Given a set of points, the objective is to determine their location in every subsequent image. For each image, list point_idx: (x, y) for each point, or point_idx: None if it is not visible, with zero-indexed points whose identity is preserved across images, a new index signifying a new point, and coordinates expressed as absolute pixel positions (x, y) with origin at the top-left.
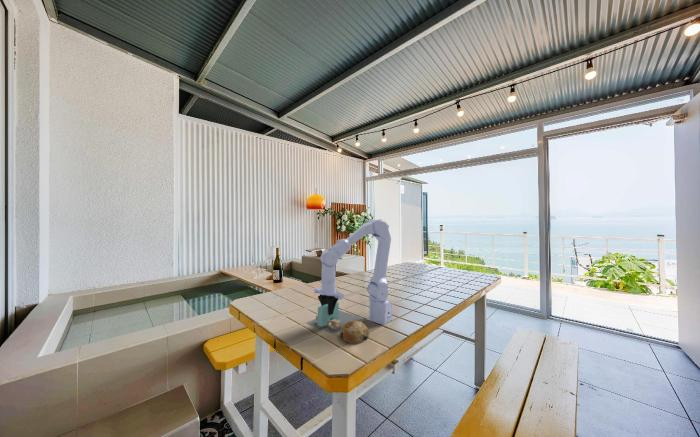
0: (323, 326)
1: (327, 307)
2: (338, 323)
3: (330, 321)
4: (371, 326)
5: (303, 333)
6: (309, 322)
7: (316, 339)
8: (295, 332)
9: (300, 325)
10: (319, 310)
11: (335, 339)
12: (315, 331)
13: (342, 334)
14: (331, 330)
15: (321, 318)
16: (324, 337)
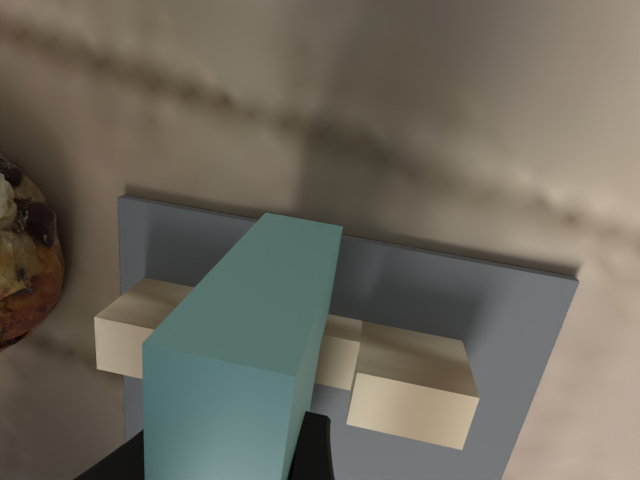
0: None
1: (154, 470)
2: (100, 321)
3: (333, 419)
4: (7, 460)
5: (450, 47)
6: (544, 316)
7: (211, 3)
8: (574, 10)
9: (625, 218)
10: (256, 328)
11: (58, 119)
12: (348, 170)
13: (25, 204)
14: (194, 251)
15: (242, 253)
16: (172, 97)
